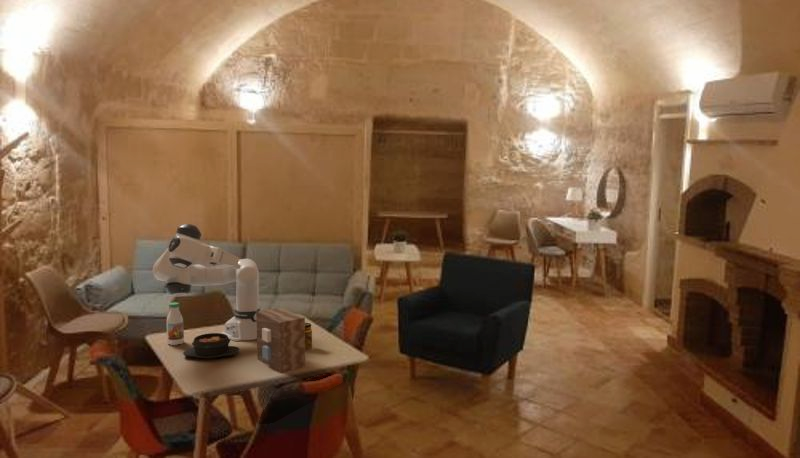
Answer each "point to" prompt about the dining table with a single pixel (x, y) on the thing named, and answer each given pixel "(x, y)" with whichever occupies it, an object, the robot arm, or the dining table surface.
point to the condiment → (308, 337)
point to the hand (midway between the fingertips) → (238, 267)
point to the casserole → (211, 346)
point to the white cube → (266, 334)
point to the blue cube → (267, 352)
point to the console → (282, 338)
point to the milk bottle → (175, 325)
